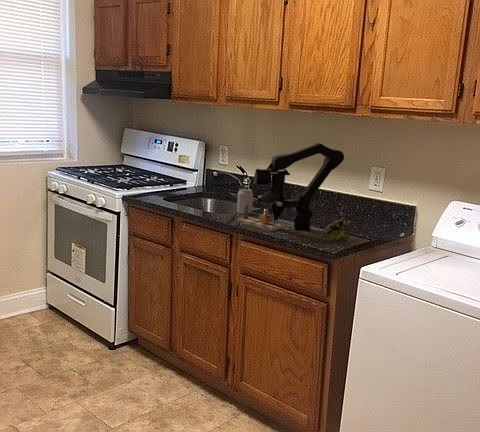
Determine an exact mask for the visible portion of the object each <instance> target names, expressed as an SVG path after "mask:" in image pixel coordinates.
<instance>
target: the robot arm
mask: <svg viewBox="0 0 480 432" xmlns="http://www.w3.org/2000/svg"><path fill="white" fill-rule="evenodd" d="M317 154H320V155H322V156H324V158H323V162H322V165H321V167H320V169H319V170H318V171H317V172H316V173H315V175H314V177H313V178H312V179H311V181H310V182H309V184H308V185H307V186H306V188H305V189H304V191H303V192H301V193H300V192H297V193H296V194H295V196H294V197H293V198H291V199H287V197H286V196H285V191H287V187H285V186H286V185H285V184H286V176H291V173H290V172H288V170H287V168H289V167H291V165H293V164H295V163H296V162H299V161H302V160H304V159H307V158H310V157H312V156H315V155H317ZM344 159H345V154H344V152H343V151H341V150H339V149H335V148H331V147H328V146H326V145H324V144H323V143H320V142H316V143H314V144H312V145H310V146H307V147H303V148H302V149H299V150H296V151H294V152H290V153H285V154H284V153H282V154H278V155H274V156H272V158H271V162H270V164H268V166H267V167H266V169H263V168H256V169H255V172H254V176H253V184H254V185H256V186H269V184H270V185H271V186H269V187H268V191H266V192H264V193H262V194H259V195H258V196H257V199H256V200H257V202H258V203H262V204H266V206H268V207H269V208H270V210H271V212H272V217H273V220H274V221H275V222H276V221H278V220H279V219H280V217H281V215H282V213H283V211H284V209H285V208H286V209H293V211H294V212H295V214H296V216H295V217H294V222H293V223H294V224H293V227H294V230H295V231H305V232H310V230H311V218H312V217H313V214H314V212H313V211H312V210H311V209H310V205H311V203H312V199H313V197H314V196H315V194H316V193H317V191H318V190H319V189H320V188H321V186H322V184H324V181H326V179H327V177H328V176H329V175H330V173H331V172H332V171H333V170H335V169H336V168H337V167H339V166H340V165H341V164H342V163H343V161H344Z"/></svg>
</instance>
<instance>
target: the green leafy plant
mask: <svg viewBox="0 0 480 432" xmlns="http://www.w3.org/2000/svg"><path fill="white" fill-rule="evenodd" d="M328 222H329V223H328V224H327V225H326V228H324V231H326V232H325V236H327V241H328V242H330V241H333V240H338V239H339V238H341V237H342V236H344V237H345V241H347V238H348V239H350V235H349V234H348V232H349V229H350V228H351V225H352V221H351V220H348V221H346V219H345V216H344V217H342V218H339V217H336V216H333V218H332V217H331V218H330V219H329V221H328ZM345 227H348V228H347V230H344V228H345Z"/></svg>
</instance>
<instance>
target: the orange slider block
mask: <svg viewBox="0 0 480 432" xmlns="http://www.w3.org/2000/svg"><path fill="white" fill-rule="evenodd" d="M268 211H269V210H268V208H264V209H263V213H261V214H259V222H260V223H265V224H266V223H272V217H273V214H269V213H268Z"/></svg>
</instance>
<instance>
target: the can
mask: <svg viewBox="0 0 480 432" xmlns="http://www.w3.org/2000/svg"><path fill="white" fill-rule="evenodd" d="M238 190H239V191H238V192H237V205H236V206H237V208H236V212H237V213H238V214H240V215H244V205H245V204H248V215H250V214H252V213H253V204H254V203H253V202H254V201H253V200H254V192H253V190H252V189H250V188H239V189H238Z"/></svg>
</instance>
